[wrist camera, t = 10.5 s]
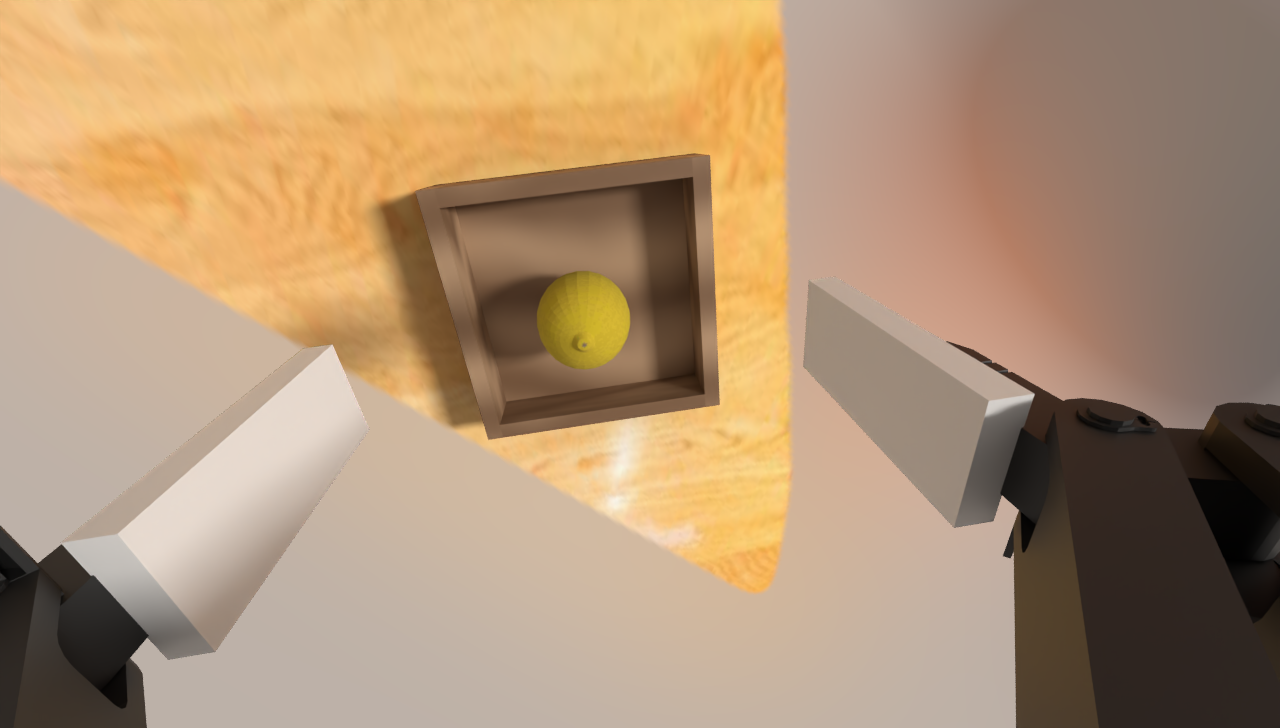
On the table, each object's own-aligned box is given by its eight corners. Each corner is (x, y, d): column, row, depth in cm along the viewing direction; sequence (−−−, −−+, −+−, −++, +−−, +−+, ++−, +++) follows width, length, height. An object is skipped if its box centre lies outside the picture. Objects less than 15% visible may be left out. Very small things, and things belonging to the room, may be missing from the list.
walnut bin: (435, 184, 29) (415, 191, 25) (694, 153, 30) (709, 155, 26) (497, 409, 36) (488, 439, 32) (706, 378, 37) (719, 404, 33)
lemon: (580, 351, 34) (578, 409, 26) (524, 293, 31) (507, 339, 24) (641, 303, 33) (657, 350, 25) (588, 240, 30) (589, 271, 23)
